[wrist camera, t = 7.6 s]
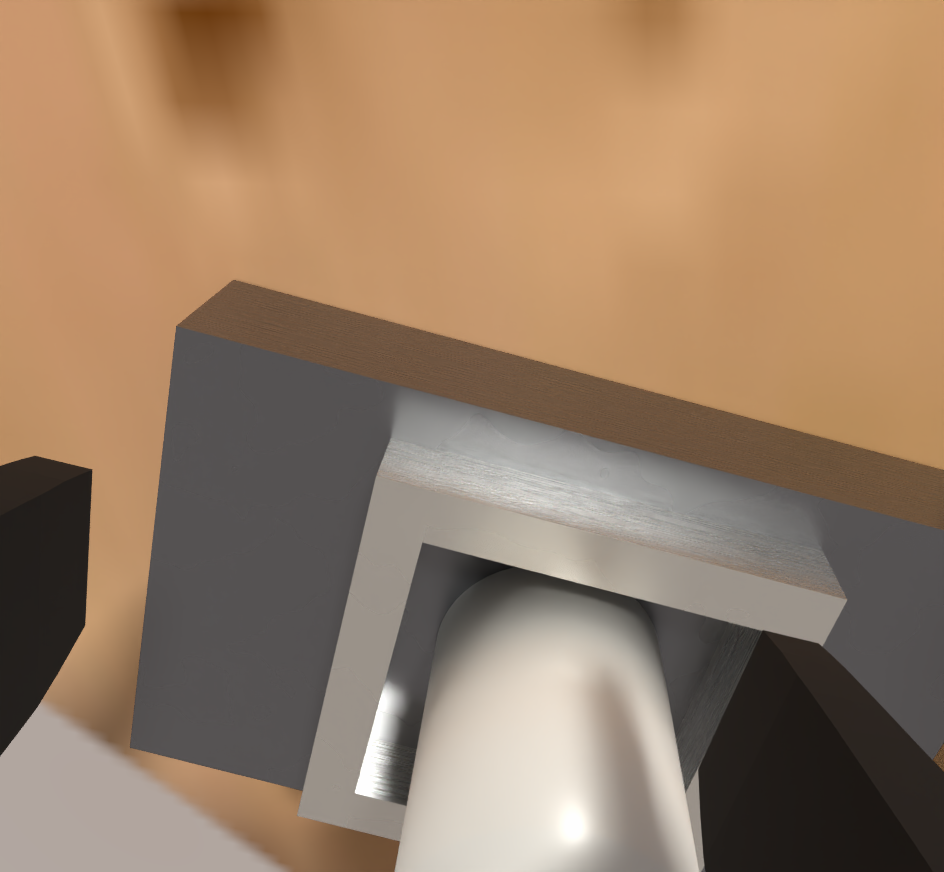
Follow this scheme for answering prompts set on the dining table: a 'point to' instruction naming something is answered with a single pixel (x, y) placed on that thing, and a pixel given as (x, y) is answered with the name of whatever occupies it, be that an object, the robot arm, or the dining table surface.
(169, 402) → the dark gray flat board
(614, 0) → the dining table surface
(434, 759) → the white capped cylinder
